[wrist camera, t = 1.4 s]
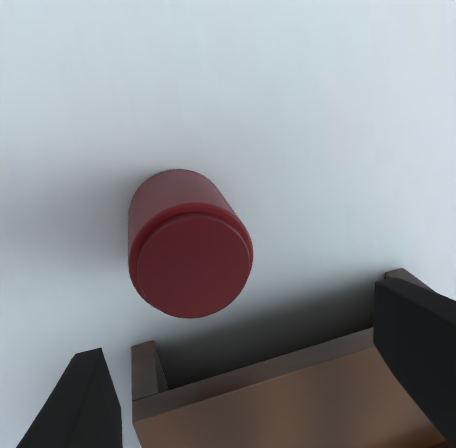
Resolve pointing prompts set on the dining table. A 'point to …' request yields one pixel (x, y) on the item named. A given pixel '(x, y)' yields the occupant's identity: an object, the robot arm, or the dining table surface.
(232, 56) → the dining table surface
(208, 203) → the red lidded jar
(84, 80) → the dining table surface
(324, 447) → the shelf
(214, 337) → the dining table surface
